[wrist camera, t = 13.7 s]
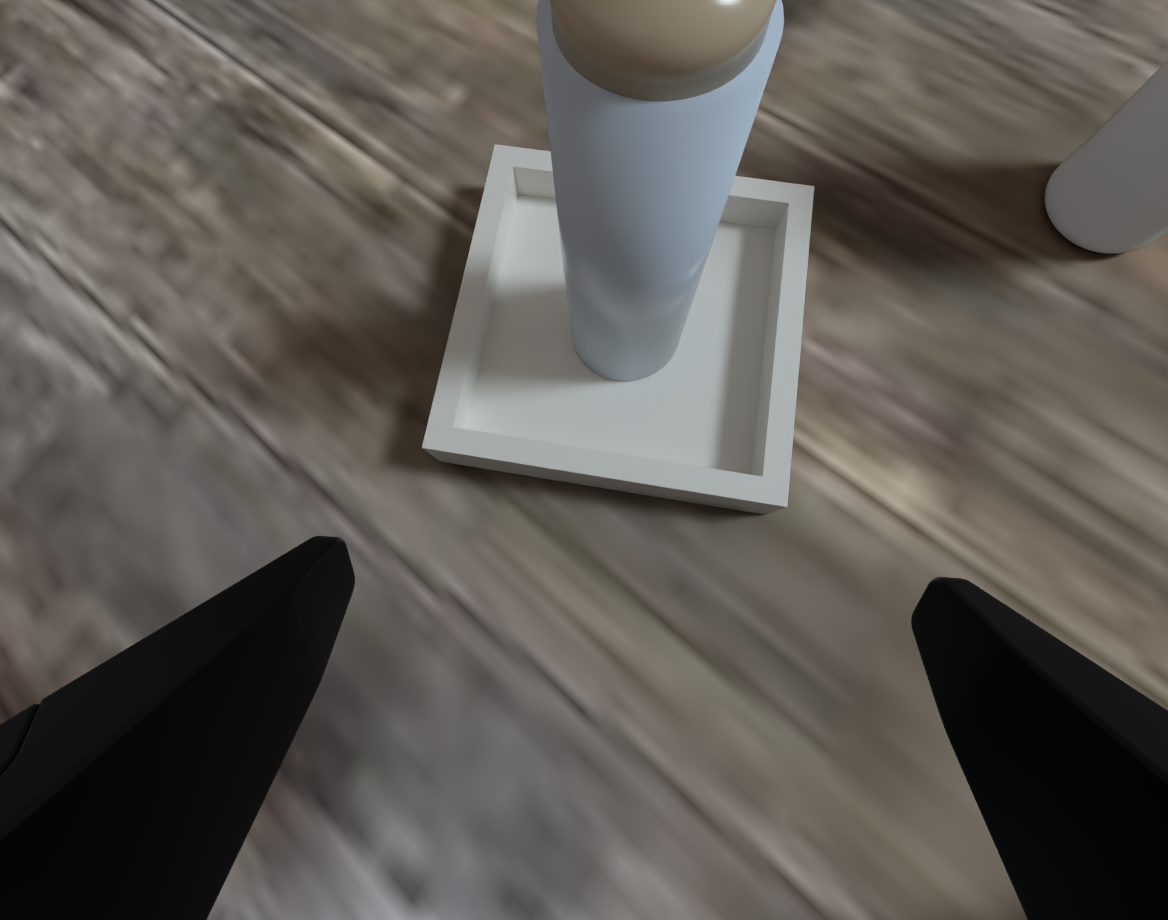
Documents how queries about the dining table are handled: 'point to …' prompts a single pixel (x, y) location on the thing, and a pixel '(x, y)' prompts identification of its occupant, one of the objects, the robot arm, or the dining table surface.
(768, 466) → the white square dish
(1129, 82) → the dining table surface
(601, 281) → the spice jar
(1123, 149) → the drinking glass
